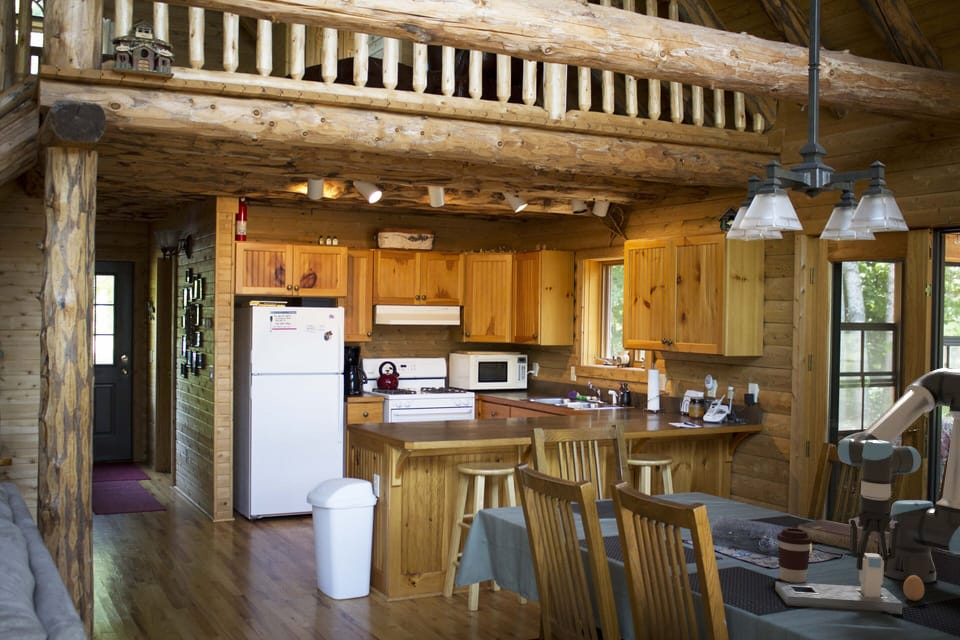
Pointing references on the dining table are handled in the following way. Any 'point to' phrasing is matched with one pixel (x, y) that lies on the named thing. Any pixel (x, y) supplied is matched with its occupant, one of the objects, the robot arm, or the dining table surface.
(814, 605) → the panel
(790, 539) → the coffee cup
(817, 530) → the hardback book
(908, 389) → the robot arm
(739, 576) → the dining table surface
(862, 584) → the plug
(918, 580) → the egg
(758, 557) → the dining table surface
